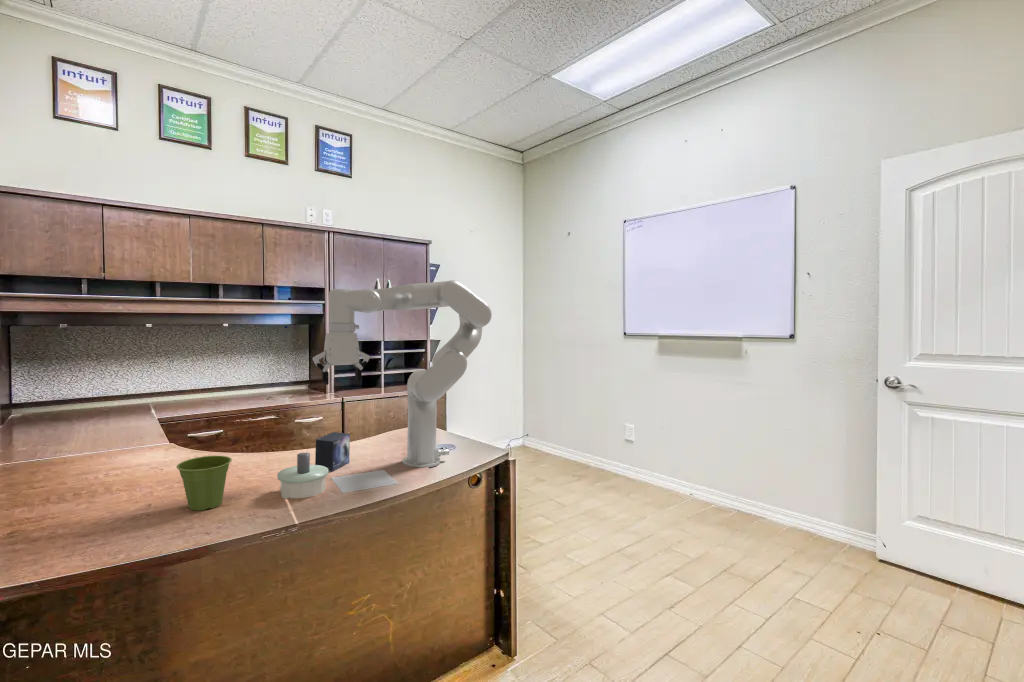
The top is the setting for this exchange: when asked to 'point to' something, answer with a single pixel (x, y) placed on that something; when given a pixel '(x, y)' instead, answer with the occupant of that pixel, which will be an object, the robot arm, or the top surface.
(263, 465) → the top surface
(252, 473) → the top surface
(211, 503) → the plant pot
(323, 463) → the small box
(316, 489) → the bowl
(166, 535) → the top surface
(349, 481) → the mat
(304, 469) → the lid
